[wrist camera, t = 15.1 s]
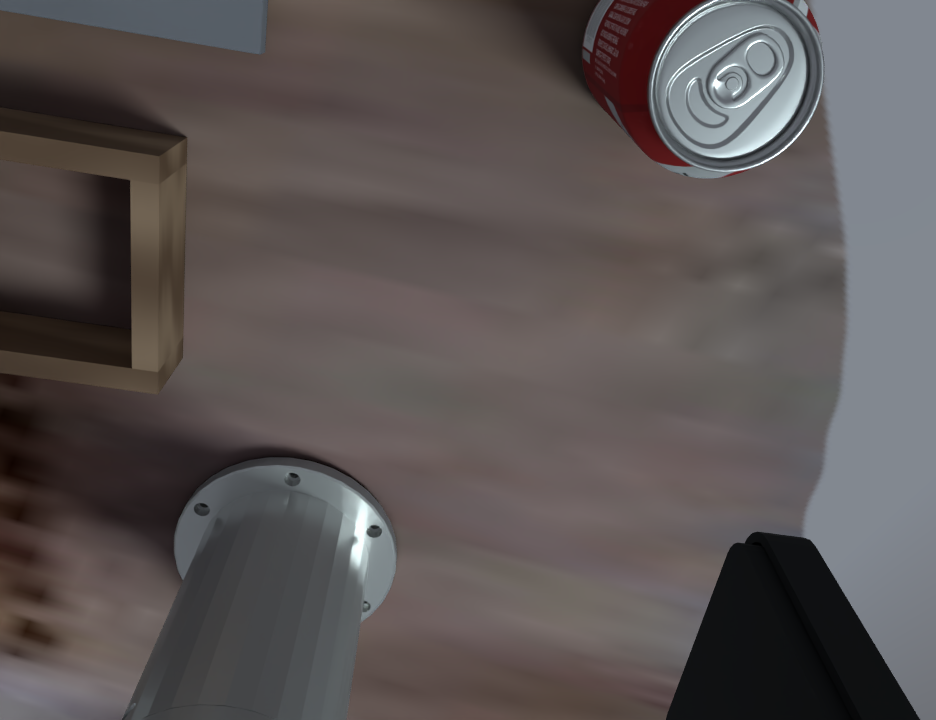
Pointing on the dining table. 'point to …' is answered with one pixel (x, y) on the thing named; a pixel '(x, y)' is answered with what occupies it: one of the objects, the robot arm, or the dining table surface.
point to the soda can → (705, 78)
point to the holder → (152, 256)
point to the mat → (163, 18)
